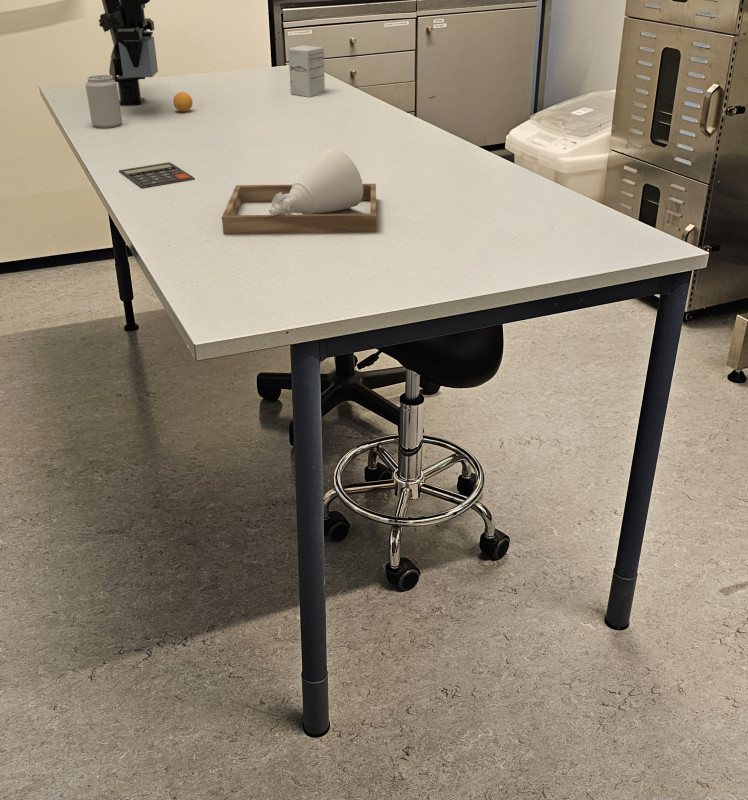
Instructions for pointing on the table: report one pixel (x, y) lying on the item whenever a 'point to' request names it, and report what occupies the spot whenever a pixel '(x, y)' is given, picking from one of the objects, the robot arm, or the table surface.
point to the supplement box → (306, 70)
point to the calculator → (156, 175)
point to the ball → (182, 101)
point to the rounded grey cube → (146, 60)
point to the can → (103, 101)
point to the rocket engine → (323, 187)
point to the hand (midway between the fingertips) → (139, 64)
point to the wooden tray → (292, 222)
